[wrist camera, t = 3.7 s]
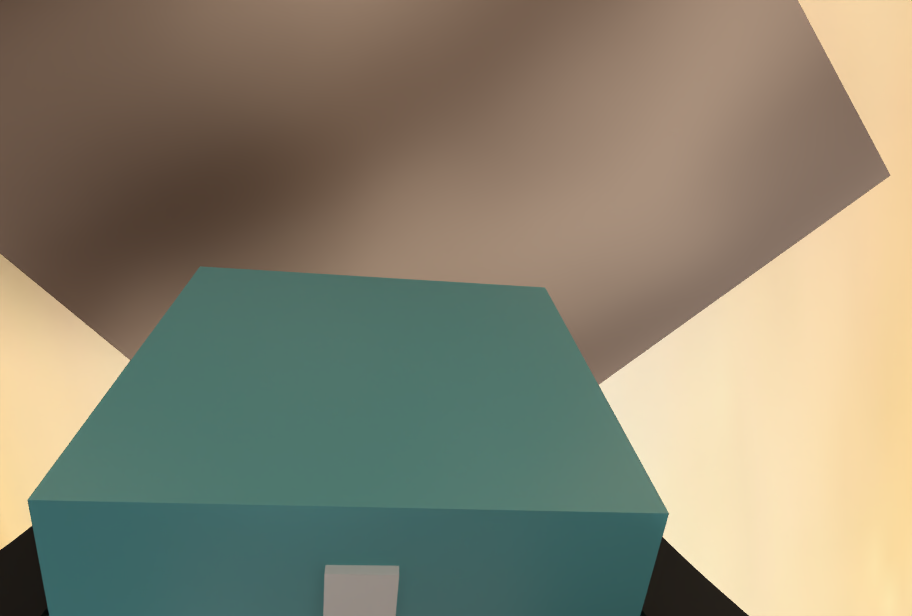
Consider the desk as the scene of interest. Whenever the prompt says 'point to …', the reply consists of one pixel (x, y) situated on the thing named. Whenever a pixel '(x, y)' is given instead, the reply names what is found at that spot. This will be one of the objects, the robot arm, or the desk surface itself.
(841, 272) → the desk surface
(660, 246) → the plate
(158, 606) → the teal mini fridge
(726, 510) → the desk surface
